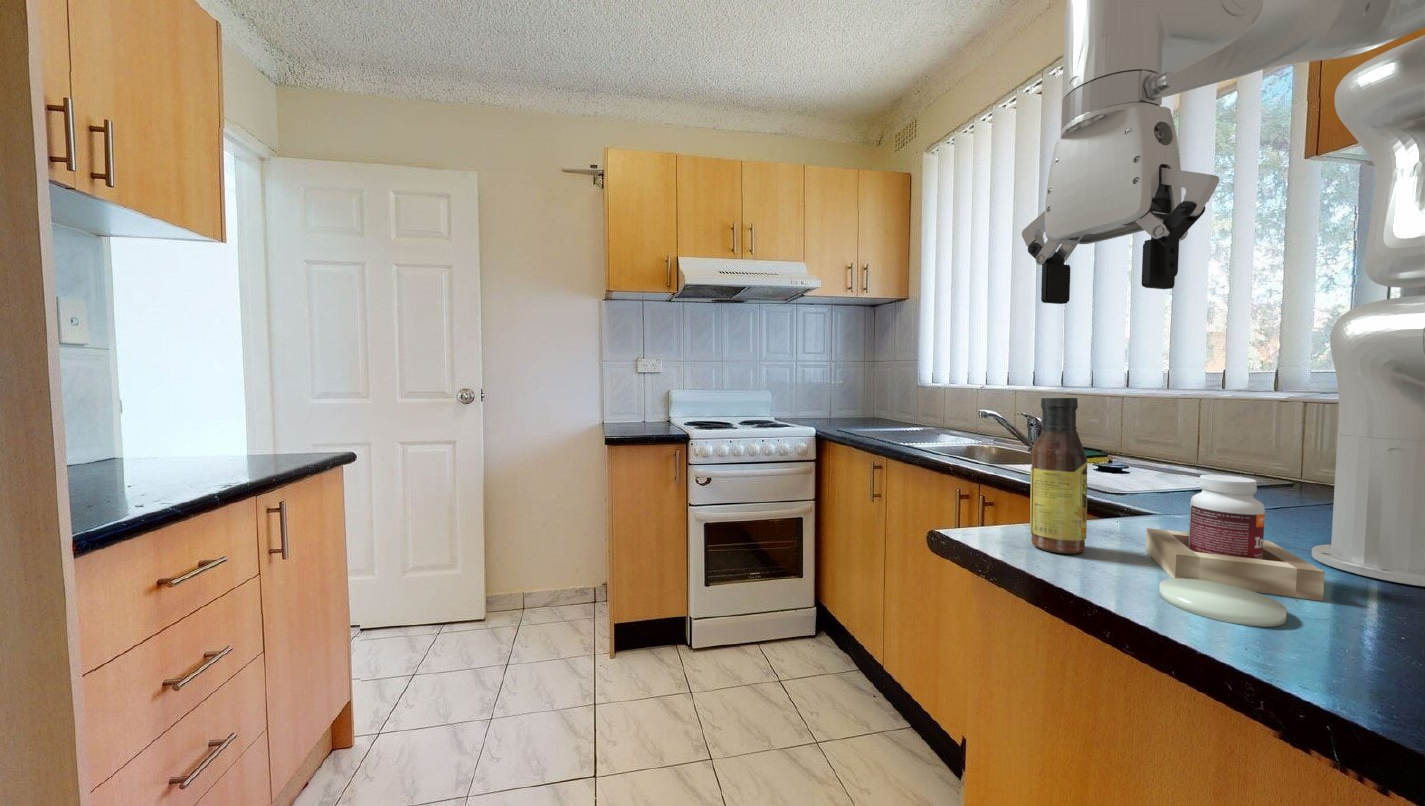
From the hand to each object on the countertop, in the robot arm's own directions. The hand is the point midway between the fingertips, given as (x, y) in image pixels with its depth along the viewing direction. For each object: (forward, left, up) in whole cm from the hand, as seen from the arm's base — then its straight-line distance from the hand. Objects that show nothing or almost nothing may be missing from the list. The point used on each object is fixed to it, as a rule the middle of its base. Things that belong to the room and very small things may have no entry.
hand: (1102, 296), depth 51 cm
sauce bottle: (+1, -20, -30) cm, 36 cm away
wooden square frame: (-15, -18, -30) cm, 38 cm away
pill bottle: (-15, -18, -30) cm, 38 cm away
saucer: (-11, -6, -30) cm, 33 cm away
